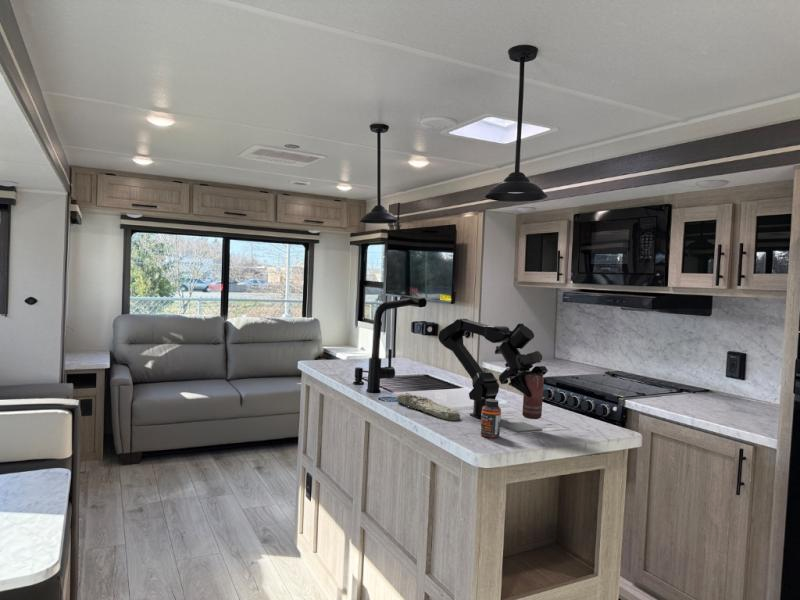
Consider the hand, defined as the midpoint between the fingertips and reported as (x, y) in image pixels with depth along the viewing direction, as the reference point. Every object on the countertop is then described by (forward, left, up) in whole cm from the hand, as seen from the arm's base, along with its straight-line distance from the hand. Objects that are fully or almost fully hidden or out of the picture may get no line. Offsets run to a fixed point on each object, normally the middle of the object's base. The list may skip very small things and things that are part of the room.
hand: (536, 396), depth 185 cm
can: (-2, 0, -7) cm, 8 cm away
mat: (-6, -1, -12) cm, 13 cm away
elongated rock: (-38, -19, -12) cm, 44 cm away
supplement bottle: (0, -17, -12) cm, 21 cm away
